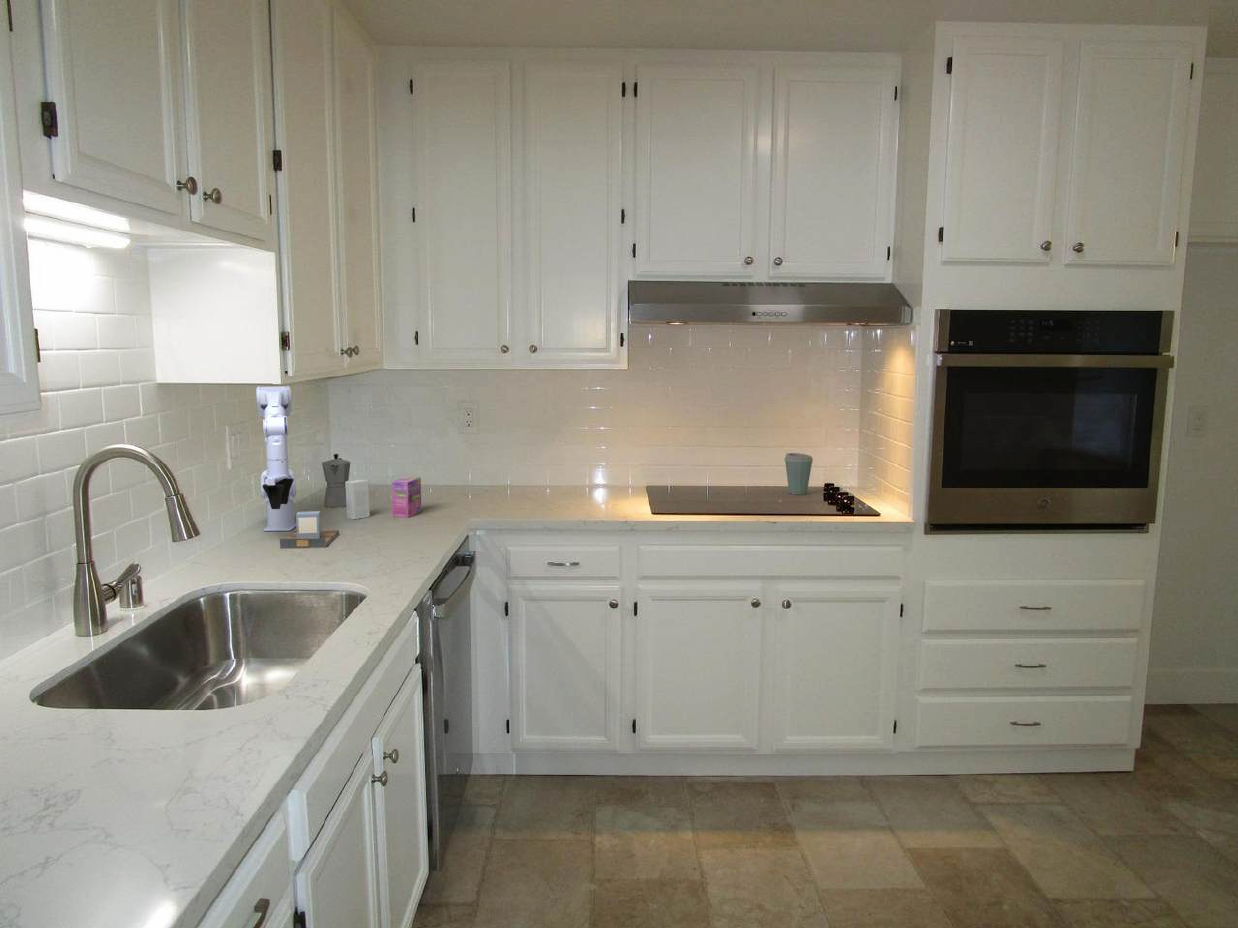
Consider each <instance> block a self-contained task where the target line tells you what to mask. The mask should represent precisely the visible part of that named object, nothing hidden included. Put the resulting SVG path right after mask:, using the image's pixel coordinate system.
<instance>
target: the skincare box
mask: <svg viewBox="0 0 1238 928" xmlns="http://www.w3.org/2000/svg"><path fill="white" fill-rule="evenodd" d="M345 487H346V506H347V507H346V517H347V519H349V518H350V519H349V520H353V519H355V520H358V519H359V518H361V519H365V518H369V517H371V510H370V493H369V492H370V490H369V480H368V479H355V480H348V481H347V482H345Z"/></svg>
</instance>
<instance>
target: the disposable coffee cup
mask: <svg viewBox="0 0 1238 928" xmlns="http://www.w3.org/2000/svg"><path fill="white" fill-rule="evenodd" d="M813 461H814V459H813V457H812V456H811V455H809V454H805V453H799V452H788V453H786V455H785V457H784V462H785V470H786V479H787V486H788V492H789V494H790V493H793V494H792V495H794V494H804V495H806V494H807V493H808V490H809V489H808V487H809V483H810V482H809V481H810V475H811V470H812V466H813ZM805 493H806V494H805Z"/></svg>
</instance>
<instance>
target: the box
mask: <svg viewBox="0 0 1238 928" xmlns="http://www.w3.org/2000/svg"><path fill="white" fill-rule="evenodd" d="M391 501H392V502H391V504H392V505H391V506H392V507H391V509H392V517H393V518H405V519H407V518H408V519H409V518H410V517H412V516H415V515H417V514H420V513H422V477H419V476H403V477H401V478H398V479H396V480H392V481H391Z"/></svg>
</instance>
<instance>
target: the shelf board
mask: <svg viewBox="0 0 1238 928" xmlns="http://www.w3.org/2000/svg"><path fill="white" fill-rule="evenodd" d="M339 532H340V531H339V529H328V530H327V529H321V537H320V538H326V546H327V545H328V544H329V543H330V544H331V543H332V542H333V541H334V539H335V538H336V537H337V536H339V534H340V533H339ZM289 538H297V530H296V531H294V532H292V534H291V535H289V536H288V537H287V538H286V539H289ZM330 544H329V545H330ZM327 547H328V546H327Z"/></svg>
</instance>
